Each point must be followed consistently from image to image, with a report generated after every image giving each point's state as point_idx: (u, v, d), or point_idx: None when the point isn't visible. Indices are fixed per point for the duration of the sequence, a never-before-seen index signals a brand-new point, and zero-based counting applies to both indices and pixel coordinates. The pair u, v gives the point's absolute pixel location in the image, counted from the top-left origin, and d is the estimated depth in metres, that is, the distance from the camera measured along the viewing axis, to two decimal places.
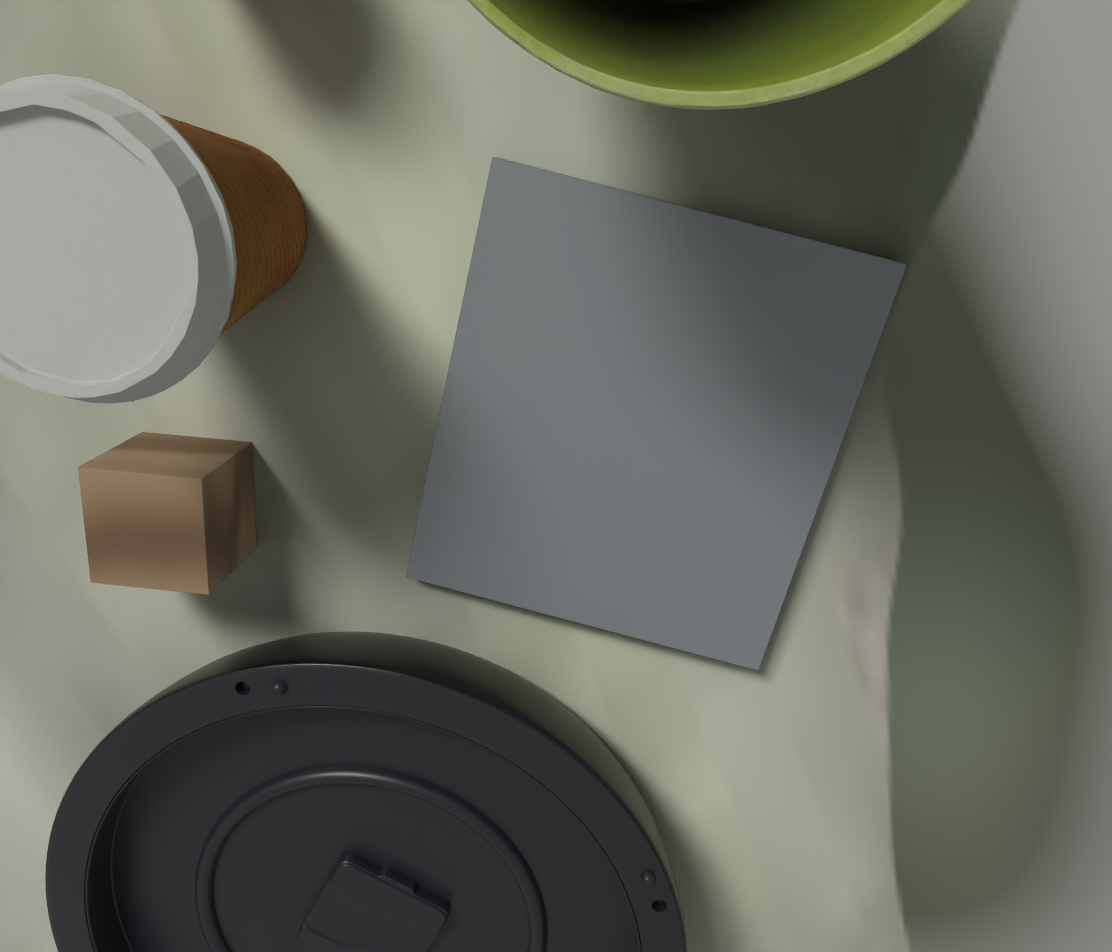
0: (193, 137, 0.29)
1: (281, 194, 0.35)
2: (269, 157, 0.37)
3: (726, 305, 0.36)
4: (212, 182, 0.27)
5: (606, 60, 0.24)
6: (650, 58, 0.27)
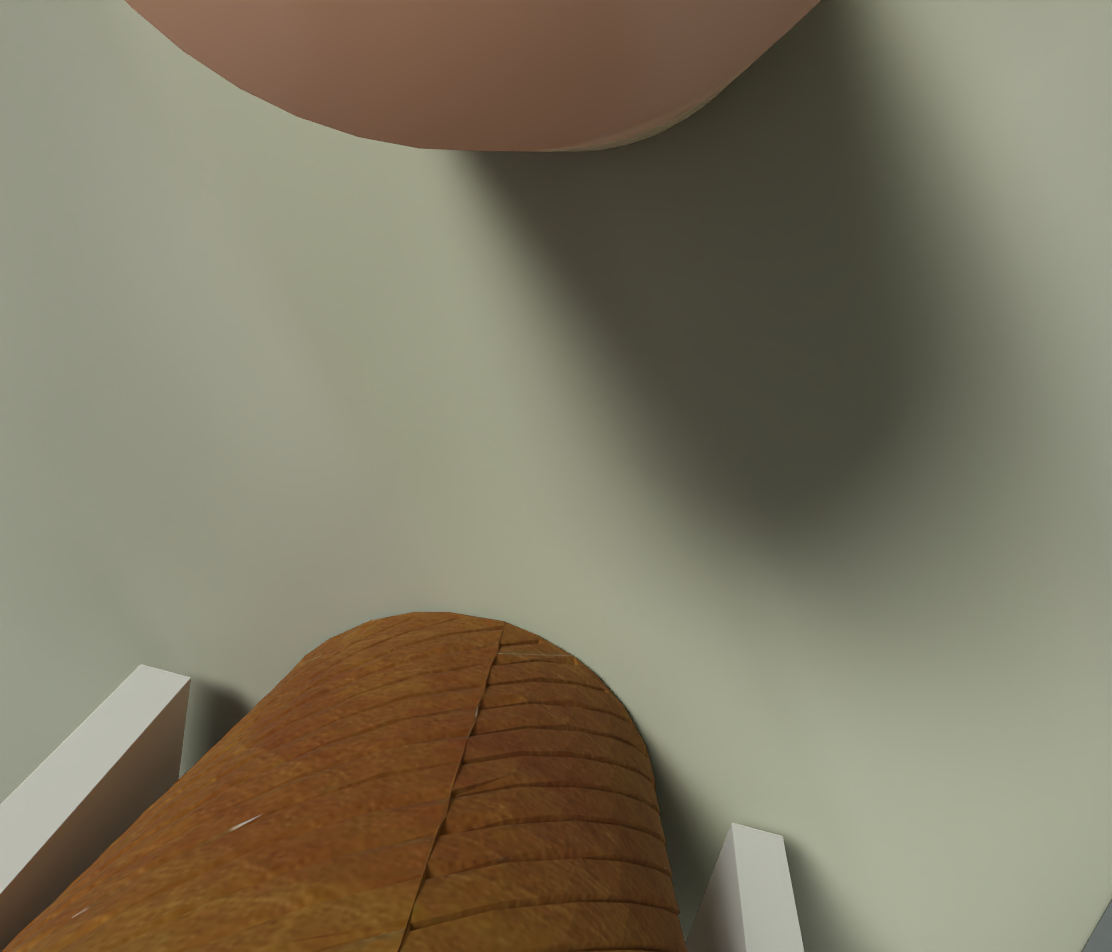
0: None
1: (665, 863, 0.11)
2: (573, 659, 0.14)
3: None
4: None
5: None
6: None
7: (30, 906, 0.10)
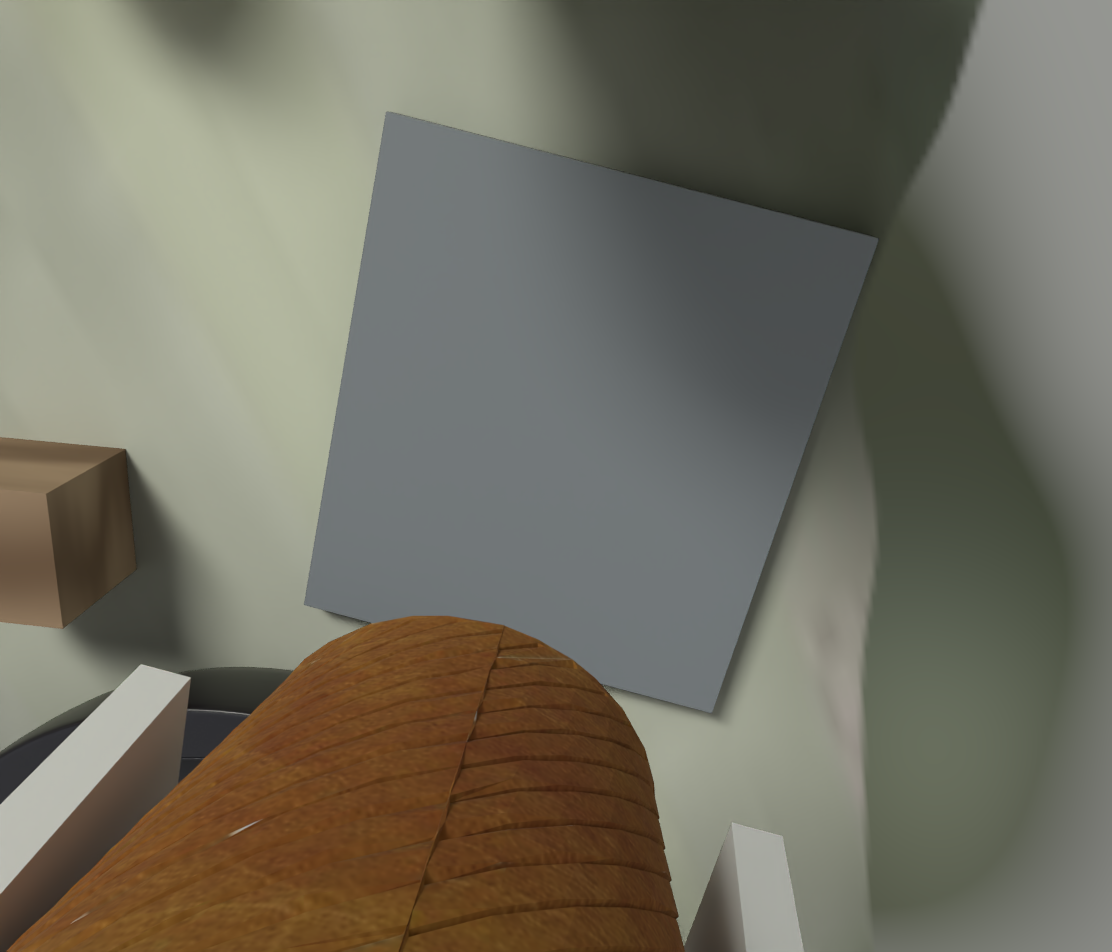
0: None
1: (664, 867, 0.11)
2: (572, 663, 0.14)
3: (666, 287, 0.31)
4: None
5: None
6: None
7: (30, 906, 0.10)
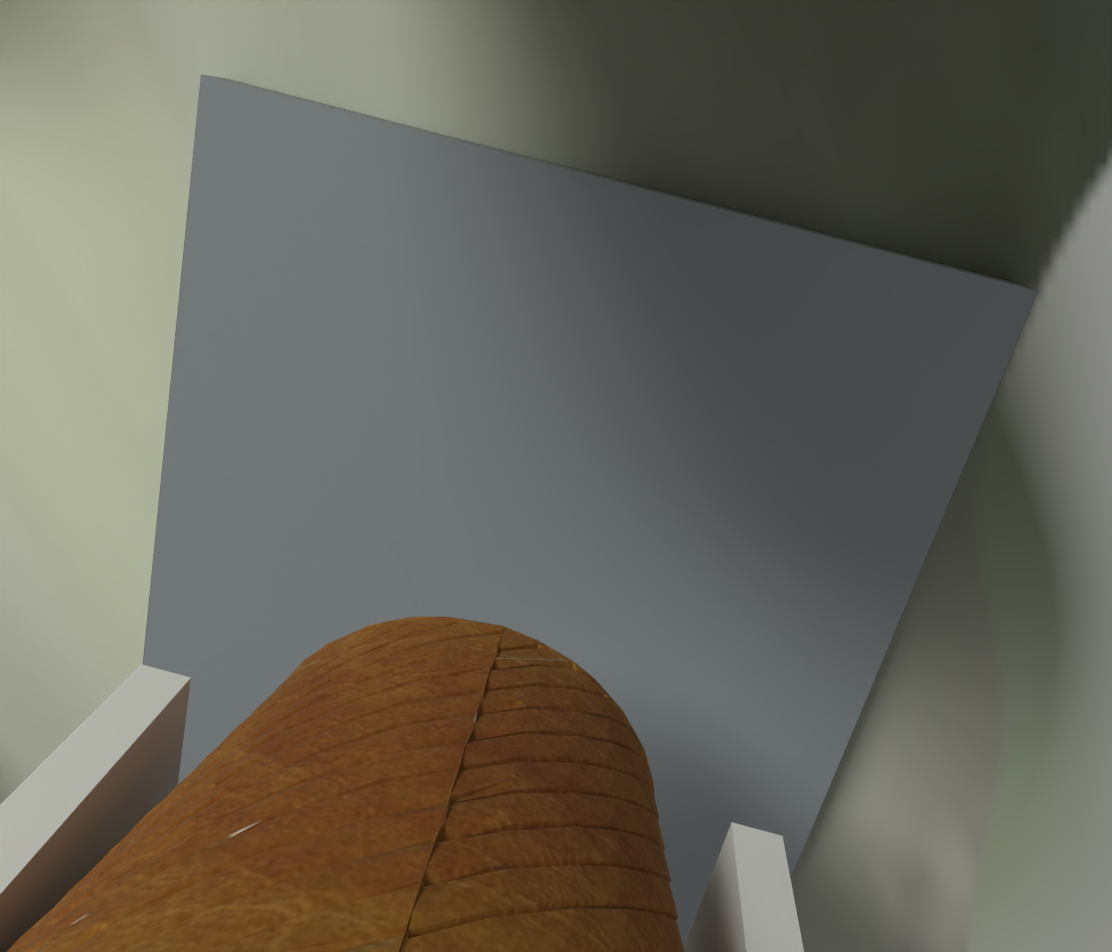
0: None
1: (664, 868, 0.11)
2: (572, 664, 0.14)
3: (675, 369, 0.18)
4: None
5: None
6: None
7: (30, 906, 0.10)
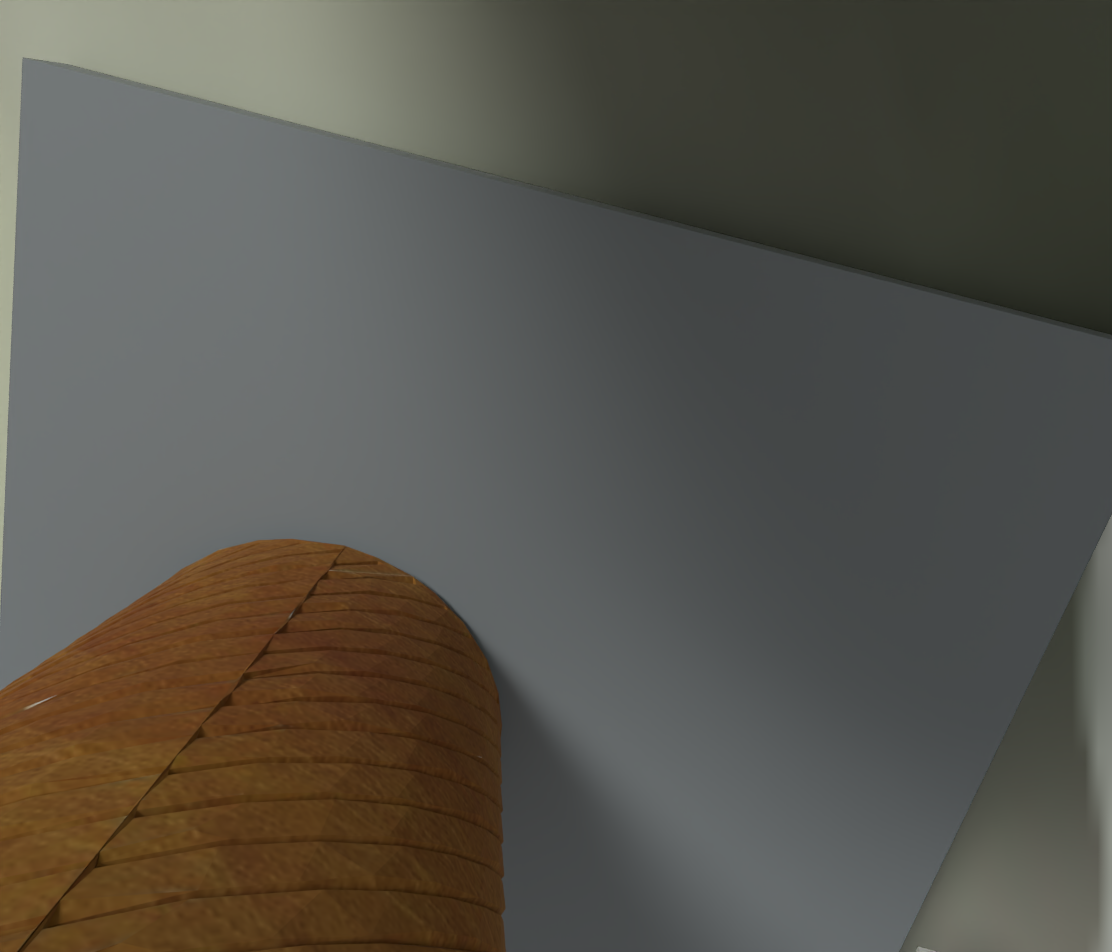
0: None
1: (482, 754, 0.12)
2: (412, 579, 0.14)
3: (681, 460, 0.14)
4: None
5: None
6: None
7: None
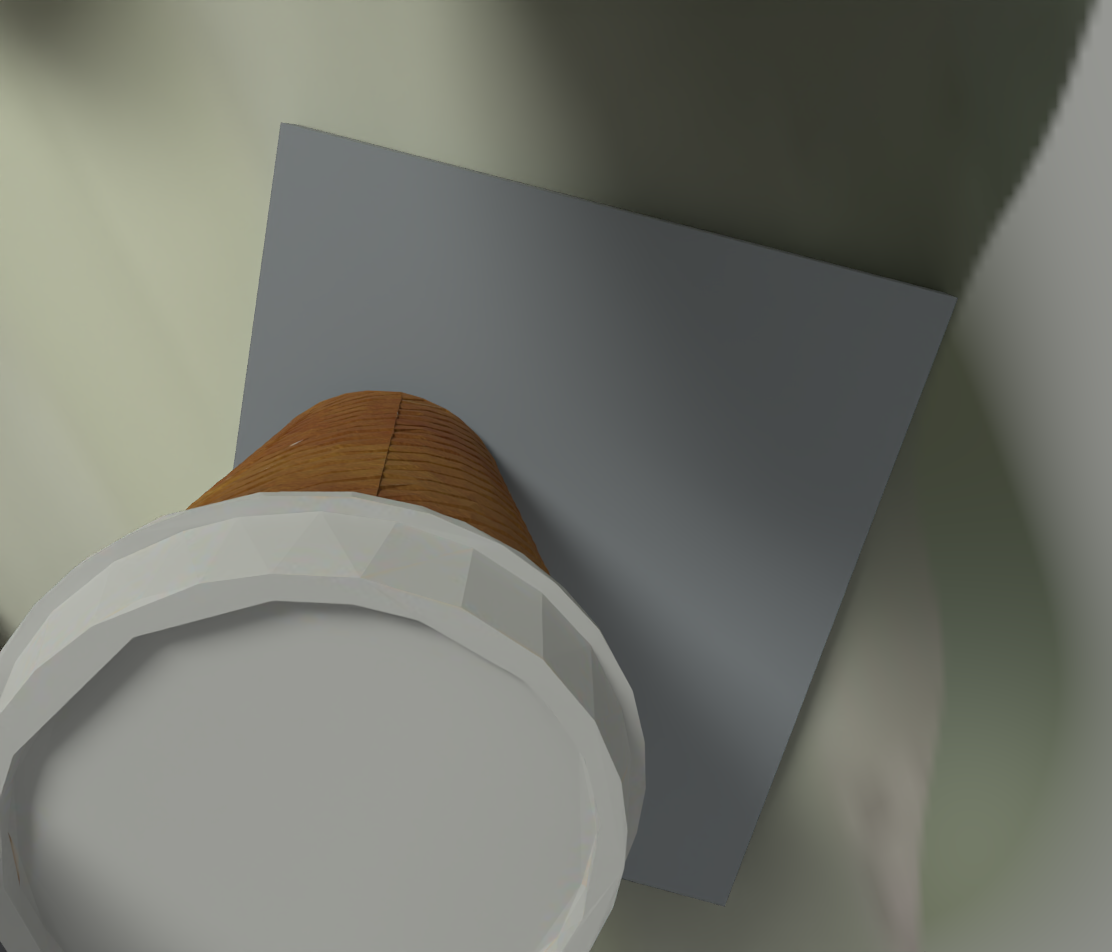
0: (479, 509, 0.15)
1: None
2: (446, 410, 0.23)
3: (665, 362, 0.22)
4: (612, 655, 0.13)
5: None
6: None
7: None
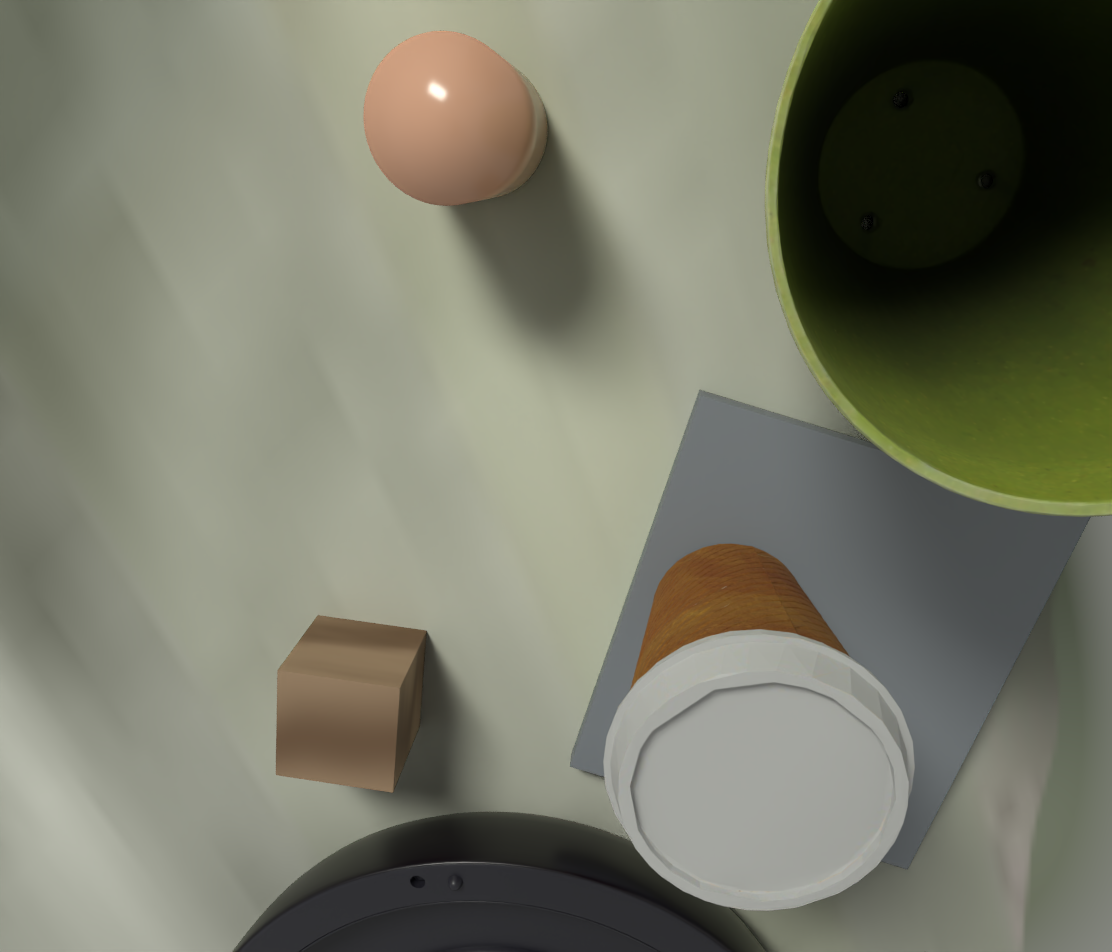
0: (832, 639, 0.31)
1: None
2: (776, 559, 0.38)
3: (913, 540, 0.38)
4: (905, 722, 0.28)
5: (905, 406, 0.26)
6: (920, 378, 0.28)
7: None
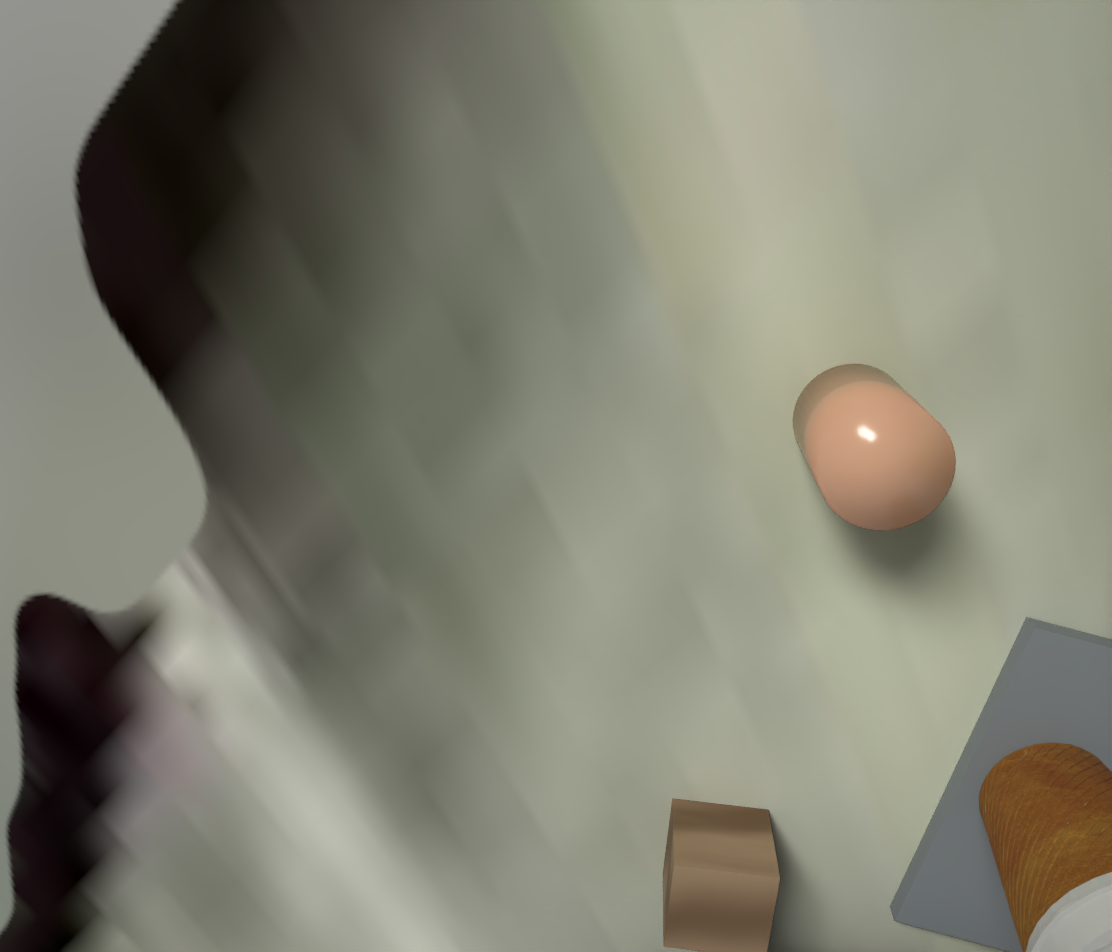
0: None
1: None
2: (1092, 754, 0.45)
3: None
4: None
5: None
6: None
7: None
